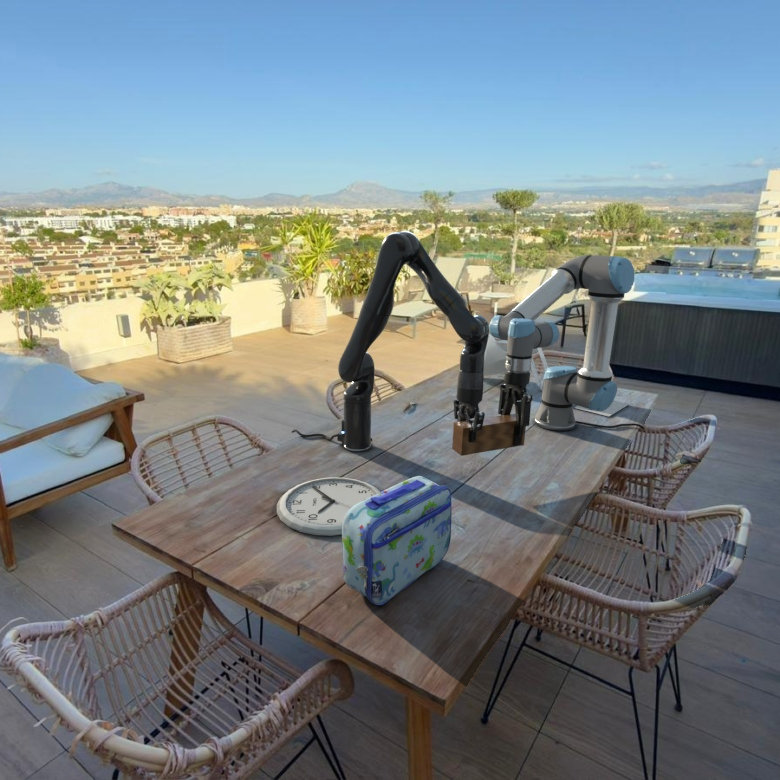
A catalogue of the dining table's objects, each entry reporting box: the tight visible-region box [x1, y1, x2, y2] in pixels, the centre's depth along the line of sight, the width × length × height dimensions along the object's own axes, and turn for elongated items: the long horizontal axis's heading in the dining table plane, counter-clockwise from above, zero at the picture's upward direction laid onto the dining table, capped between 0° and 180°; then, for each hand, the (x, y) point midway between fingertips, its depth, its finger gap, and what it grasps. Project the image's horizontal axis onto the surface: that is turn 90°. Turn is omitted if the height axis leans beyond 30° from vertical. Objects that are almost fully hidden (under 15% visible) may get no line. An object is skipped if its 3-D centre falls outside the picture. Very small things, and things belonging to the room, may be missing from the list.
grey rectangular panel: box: [573, 400, 629, 418], centre depth 226 cm, size 21×1×15 cm
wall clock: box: [276, 476, 382, 537], centre depth 142 cm, size 30×2×30 cm
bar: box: [451, 413, 527, 457], centre depth 161 cm, size 23×6×9 cm, turn 113°
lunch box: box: [341, 475, 453, 606], centre depth 111 cm, size 26×11×21 cm, turn 134°
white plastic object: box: [483, 333, 549, 391], centre depth 258 cm, size 37×45×31 cm
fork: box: [403, 396, 419, 412], centre depth 222 cm, size 3×16×2 cm, turn 160°
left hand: (466, 438), depth 158 cm, fingers closed on bar, 5 cm apart
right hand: (511, 440), depth 165 cm, fingers closed on bar, 5 cm apart
